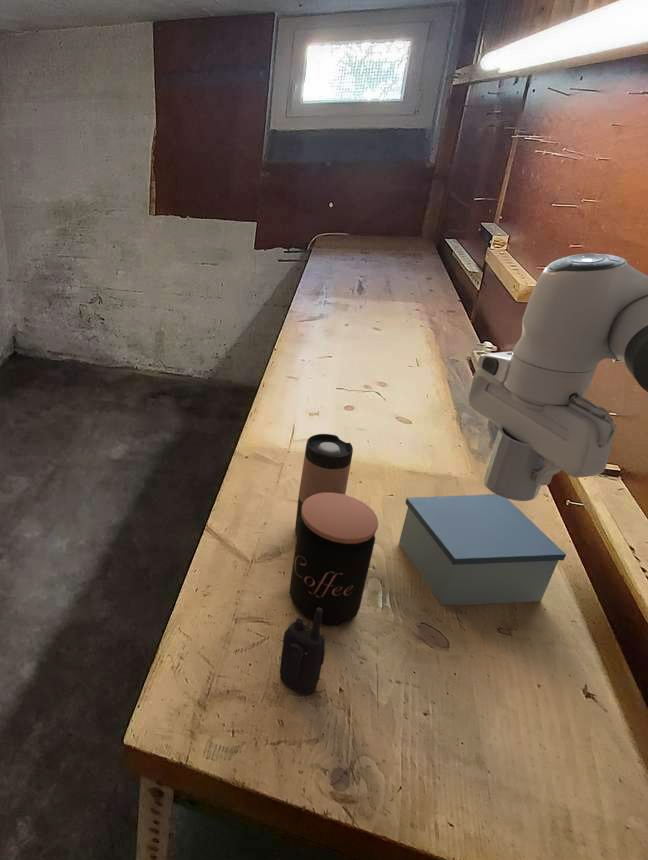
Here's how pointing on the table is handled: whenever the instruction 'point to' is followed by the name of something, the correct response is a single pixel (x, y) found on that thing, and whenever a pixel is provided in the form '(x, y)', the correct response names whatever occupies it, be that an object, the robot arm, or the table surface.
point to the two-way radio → (302, 655)
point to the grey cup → (512, 468)
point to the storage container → (477, 549)
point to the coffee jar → (332, 557)
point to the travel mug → (324, 468)
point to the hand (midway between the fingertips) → (516, 465)
